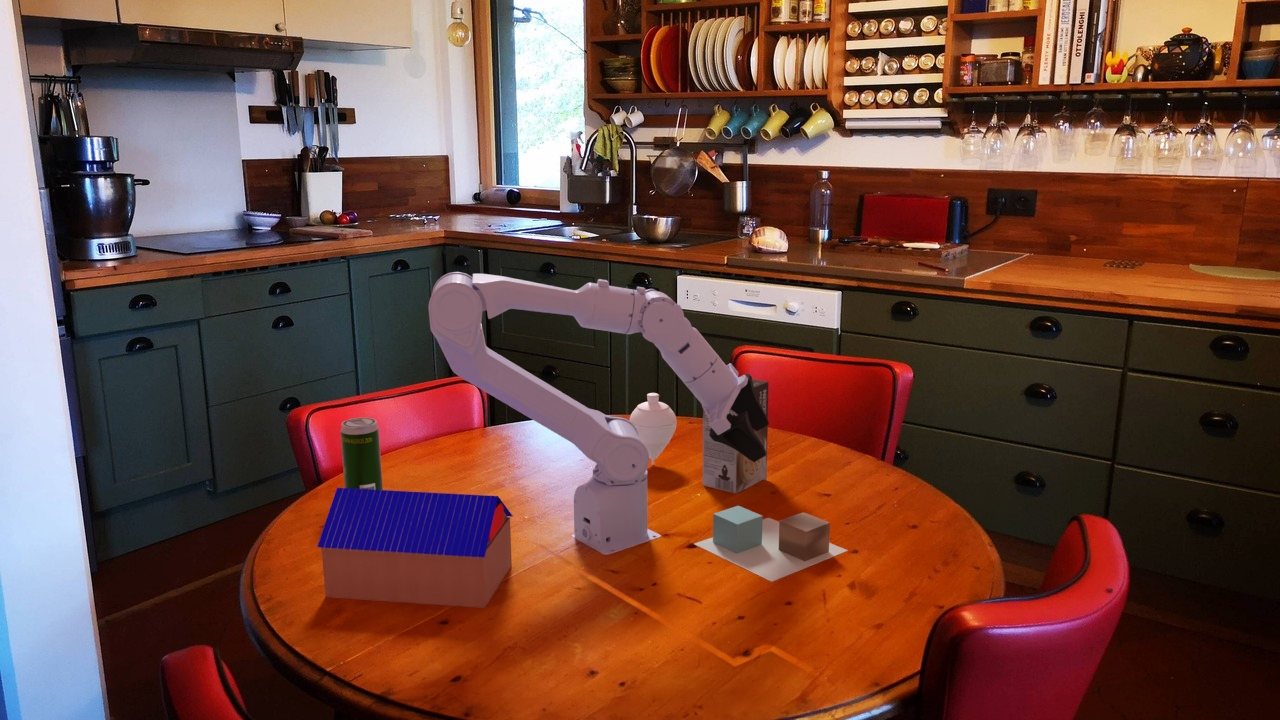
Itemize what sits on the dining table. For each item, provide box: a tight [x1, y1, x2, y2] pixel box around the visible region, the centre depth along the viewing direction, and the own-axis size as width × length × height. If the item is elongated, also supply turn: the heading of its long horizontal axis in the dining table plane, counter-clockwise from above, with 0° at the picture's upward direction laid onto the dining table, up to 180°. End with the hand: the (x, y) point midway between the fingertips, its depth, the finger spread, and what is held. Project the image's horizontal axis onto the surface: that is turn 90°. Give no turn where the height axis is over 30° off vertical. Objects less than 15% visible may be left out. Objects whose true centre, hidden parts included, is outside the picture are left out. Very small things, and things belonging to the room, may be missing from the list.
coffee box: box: [702, 378, 770, 494], centre depth 147 cm, size 9×6×16 cm
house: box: [316, 487, 514, 609], centre depth 116 cm, size 12×20×12 cm, turn 82°
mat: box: [693, 517, 849, 583], centre depth 125 cm, size 14×14×1 cm
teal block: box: [712, 505, 764, 554], centre depth 126 cm, size 4×4×4 cm
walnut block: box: [778, 511, 831, 561], centre depth 123 cm, size 4×4×4 cm
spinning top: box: [629, 392, 678, 466], centre depth 157 cm, size 8×8×12 cm
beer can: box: [339, 417, 384, 490], centre depth 142 cm, size 5×5×12 cm
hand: (761, 441), depth 130 cm, fingers open, 7 cm apart
